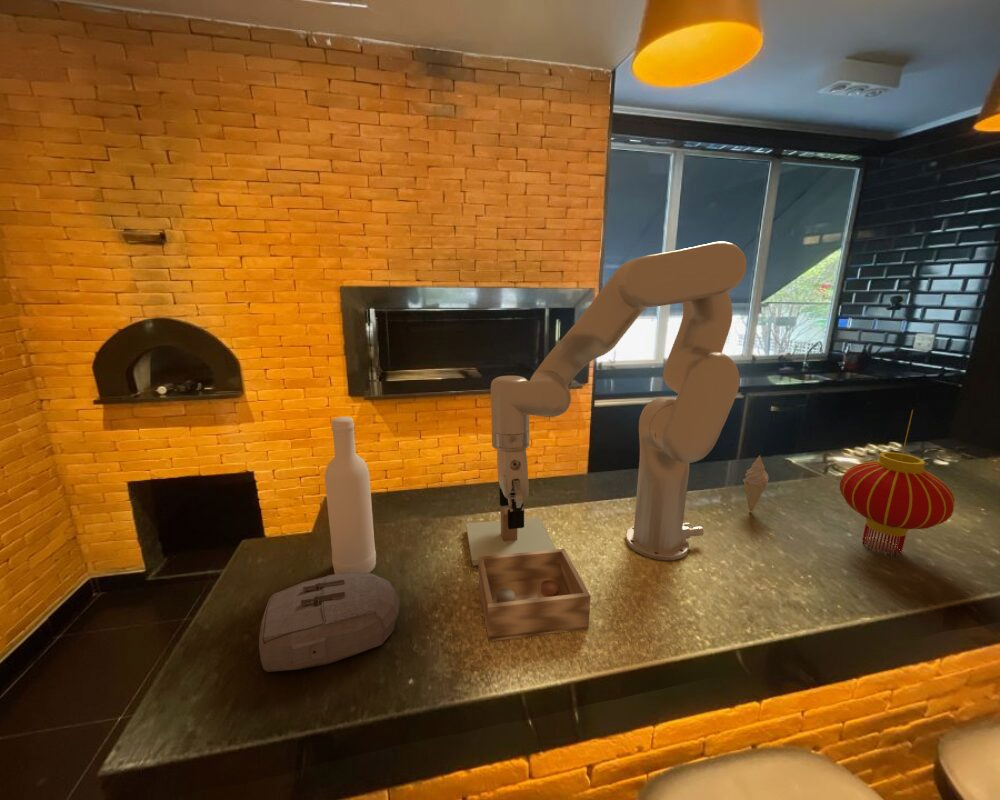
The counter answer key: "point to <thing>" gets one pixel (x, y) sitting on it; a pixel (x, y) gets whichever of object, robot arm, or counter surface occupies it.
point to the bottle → (349, 503)
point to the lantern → (896, 496)
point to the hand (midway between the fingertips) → (511, 515)
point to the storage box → (532, 594)
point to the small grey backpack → (326, 620)
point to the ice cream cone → (755, 483)
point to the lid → (506, 537)
